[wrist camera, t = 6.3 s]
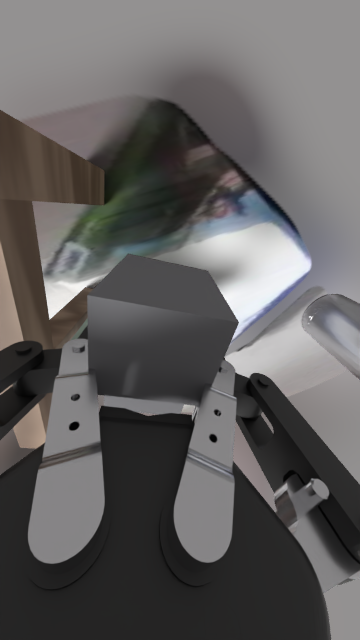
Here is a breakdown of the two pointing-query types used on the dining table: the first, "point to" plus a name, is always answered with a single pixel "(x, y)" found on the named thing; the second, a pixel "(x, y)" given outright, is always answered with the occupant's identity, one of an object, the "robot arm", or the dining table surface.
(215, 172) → the dining table surface
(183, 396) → the grey stepped block
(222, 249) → the dining table surface
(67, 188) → the wall frame
